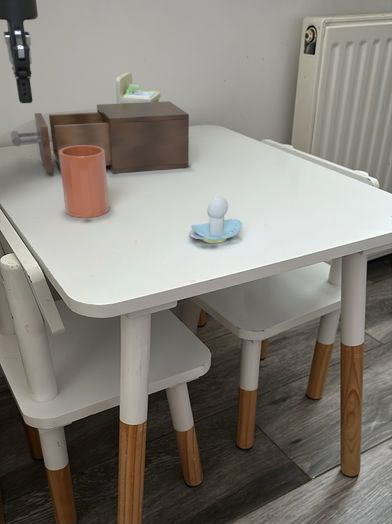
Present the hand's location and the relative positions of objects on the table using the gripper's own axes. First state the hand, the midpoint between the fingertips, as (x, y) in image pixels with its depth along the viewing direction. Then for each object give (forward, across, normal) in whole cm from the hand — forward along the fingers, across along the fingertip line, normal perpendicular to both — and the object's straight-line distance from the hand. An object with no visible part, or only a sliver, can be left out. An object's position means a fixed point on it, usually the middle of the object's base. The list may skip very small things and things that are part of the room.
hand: (26, 102), depth 97 cm
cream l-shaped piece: (+12, -15, +24) cm, 31 cm away
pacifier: (+12, +40, +21) cm, 46 cm away
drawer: (+11, 0, +6) cm, 12 cm away
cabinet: (+12, 0, +21) cm, 24 cm away
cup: (+12, +24, +6) cm, 27 cm away
